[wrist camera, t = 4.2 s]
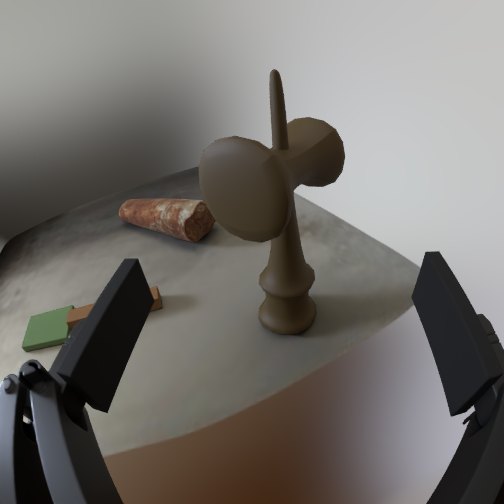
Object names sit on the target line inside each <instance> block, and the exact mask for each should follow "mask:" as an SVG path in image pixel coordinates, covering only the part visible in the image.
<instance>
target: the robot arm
mask: <svg viewBox="0 0 504 504" xmlns="http://www.w3.org/2000/svg"><path fill="white" fill-rule="evenodd" d="M411 298H412V300H413V302H414V305H415V307H416V310H417V312H418V315H419V317H420V320H421V322H422V325H423V328H424V330H425V333H426V336H427V338H428V341H429V344H430V347H431V350H432V353H433V356H434V358H435V362H436V365H437V368H438V371H439V374H440V378H441V381H442V384H443V388H444V392H445V395H446V399H447V403H448V407H449V411H450V415H451V416H455V415H458V414H461V413H465V412H467V410H468V409H470V408H471V407H472V406H473V405H474V408H475V411H474V412H473V413H472V414H471V415H470V416H469V417H467V418H466V419H465V420H464V422H463V424H466V423H467V422H468V421H469V420H470V421H469V423H468V425H467V428H466V430H465V433H464V435H463V437H462V440H461V442H460V444H459V446H458V448H457V450H456V453H455V455H454V457H453V459H452V460H451V462H450V464H449V466H448V468H447V470H446V472H445V474H444V475H443V477H442V479H441V481H440V482H439V484H438V486H437V488H436V489H435V491H434V492H433V494H432V496H431V498H430V499H429V501H428V502H427V503H426V504H504V349H503V347H502V345H501V343H499V339H498V337H497V335H496V334H495V331H494V329H493V327H492V325H491V323H490V321H489V320H488V319H487V318H486V317H485V316H484V315H483V314H478V315H477V314H476V312H475V310H474V308H473V307H472V305H471V303H470V301H469V299H468V298H467V296H466V294H465V292H464V291H463V289H462V287H461V286H460V284H459V282H458V280H457V279H456V277H455V275H454V274H453V272H452V271H451V269H450V268H449V266H448V264H447V263H446V261H445V260H444V258H443V257H442V255H441V254H440V252H438V251H437V252H425V256H424V259H423V263H422V266H421V269H420V273H419V276H418V279H417V282H416V285H415V288H414V291H413V294H412V297H411ZM154 302H155V300H154V298H153V295H152V293H151V291H150V288H149V286H148V283H147V281H146V278H145V276H144V273H143V271H142V268H141V265H140V263H139V260H138V259H124V261H123V262H122V263H121V265H120V266H119V268H118V269H117V271H116V272H115V274H114V275H113V277H112V278H111V280H110V281H109V283H108V284H107V286H106V287H105V289H104V290H103V292H102V293H101V295H100V296H99V298H98V300H97V301H96V303H95V304H94V306H93V308H92V309H91V311H90V312H89V314H88V316H87V317H86V319H81V320H80V321H79V322H78V323H77V324H76V325H75V326H74V327H73V329H72V331H71V332H70V334H69V337H68V338H67V339H66V341H65V343H64V345H63V346H62V348H61V350H60V351H59V353H58V355H57V357H56V359H55V360H54V362H53V364H52V366H51V368H50V370H49V371H47V370H46V369H45V368H44V367H43V366H42V365H41V364H40V363H39V362H38V361H37V360H33V359H32V360H29V361H27V362H26V363H24V364H23V365H22V367H21V368H20V370H19V372H18V377H17V376H16V375H15V374H10V375H8V376H7V377H5V378H4V380H3V381H2V383H1V386H0V504H123V502H122V500H121V498H120V496H119V494H118V492H117V489H116V487H115V485H114V483H113V481H112V478H111V476H110V474H109V472H108V469H107V467H106V464H105V462H104V459H103V457H102V454H101V451H100V449H99V446H98V443H97V440H96V437H95V435H94V432H93V428H92V425H91V422H90V419H89V416H88V412H87V410H86V408H85V407H84V406H85V403H86V402H87V403H88V404H89V405H90V406H91V407H92V408H93V409H96V410H99V411H102V412H106V413H108V410H109V408H110V405H111V402H112V400H113V397H114V395H115V392H116V390H117V387H118V385H119V382H120V380H121V377H122V375H123V372H124V370H125V367H126V365H127V362H128V360H129V358H130V355H131V353H132V351H133V348H134V346H135V344H136V341H137V339H138V337H139V335H140V332H141V330H142V328H143V326H144V324H145V321H146V319H147V317H148V315H149V313H150V310H151V308H152V306H153V304H154ZM23 415H24V416H25V417H27V418H28V423H25V422H24V421H23Z"/></svg>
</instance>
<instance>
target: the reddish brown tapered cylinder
mask: <svg viewBox="0 0 504 504" xmlns="http://www.w3.org/2000/svg"><path fill="white" fill-rule="evenodd" d="M119 217H120V219H121V220H122V221H125V222H129V223H132V224H135V225H137V226H140V227H143V228H146V229H150V230H154V231H157V232H161V233H164V234H167V235H170V236H173V237H176V238H178V239H182V240H185V241H189V242H198V241H199V240H200V239H201V238H202V237H203V236H204V235H205V234H207V233H208V232H209V231H210V230H211V228H212V227H213V225H214V223H215V221H216V220H215V219H214V217H213V216H212V214H211V212H210V211H209V209H208V207H207V206H206V204H205V201H202V200H188V199H166V198H162V199H132V200H127V201H125V202H124V203H123V204H122V205H121V208H120V210H119Z"/></svg>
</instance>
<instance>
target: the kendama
mask: <svg viewBox="0 0 504 504" xmlns="http://www.w3.org/2000/svg"><path fill="white" fill-rule="evenodd" d="M270 108H271V124H272V143H273V144H272V145H273V147H272V148H271V149H269V148H267V147H266V146H264V145H263V144H261V143H260V142H258V141H255V140H250V139H246V138H242V137H238V136H232V137H227V138H222V139H218V140H215V141H214V142H213V143H212V144H210V145H209V146H208V147H207V148H206V149H205V150H203V153H202V157H201V160H200V164H199V182H200V188H201V191H202V194H203V198H204V201H205V204H206V206H207V207H208V209H209V211H210V212H211V214H212V216H213V217H214V219H215V220H216V221H217V222H218V223H219V224H220V225H221V226H222V227H224V228H225V229H226V230H227V231H228V232H229V233H231V234H233V235H235V236H238V237H240V238H242V239H244V240H248V241H255V242H265V241H268V240H271V239H272V242H271V250H270V257H269V262H268V265H267V267H266V268H265V269H264V270H263V272H262V273H261V275H260V279H259V284H260V286H261V287H262V289H263V291H265V292H266V299H265V300H264V302H263V303H262V305H261V306H260V308H259V316H258V317H259V319H260V321H261V323H262V324H263V326H264V327H266V328H267V329H269V330H270V331H272V332H275V333H278V334H282V335H295V334H297V333H300V332H302V331H304V330H306V329H307V328H308V327H309V326H310V325H311V324H312V323H313V321H314V318H315V316H316V313H317V312H316V304H315V302H314V301H313V300H312V299H311V298H310V297H309V296H308V291H309V289H310V288H311V286H312V284H313V282H314V280H315V275H314V270H313V269H312V268H311V267H310V266H309V264H307V263H306V262H305V259H304V256H303V251H302V247H301V241H300V236H299V230H298V224H297V217H296V210H295V203H294V189H295V188H296V187H297V186H299V185H301V184H303V185H306V186H315V187H316V186H317V187H323V186H326V185H328V184H331V183H334V182H335V181H336V180H337V178H338V177H339V175H340V174H341V173H342V170H343V165H344V160H345V153H344V147H343V141H342V140H341V138H340V136H339V134H338V133H337V131H336V129H335V128H333V127H332V126H330V125H329V124H328V123H326V122H325V121H322V120H318V119H314V118H310V117H306V118H298V119H294V120H293V121H291V122H289V123H288V124H287V120H286V111H285V102H284V93H283V87H282V81H281V77H280V74H279V72H278V71H277V70H275V69H274V70H272V71H271V73H270Z"/></svg>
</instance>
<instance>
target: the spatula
mask: <svg viewBox="0 0 504 504" xmlns="http://www.w3.org/2000/svg"><path fill="white" fill-rule="evenodd" d="M150 291H151V293H152V295H153V298H154V300H155V302H154V304H153V306H152V308H151V310H150V311H153V310H156V309H160V308H162V303H161V295H160V293H159V290H158V288H157V286H156V287H152V288H150ZM94 304H95V303H94ZM94 304H90V305H87V306H83V307H79V308H74V306H73V305H71V306H68V307H64V308H60V309H57V310H53V311H49V312H46V313H42V314H38V315H35V316H31V317H30V320H29V323H28V327H27V330H26V333H25V337H24V341H23V344H22V348H23V349H24V351H30V350H35V349H40V348H45V347H49V346H54V345H59V344H63V343H65V341H66V339H67V338H68V337H69V334H70V332H71V331H72V329H73V327H74V326H75V325H76V324H77V323H78V322H79V321H80V320H81V319H86V317H87V316H88V314H89V312H90V311H91V309H92V308H93V306H94Z"/></svg>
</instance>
